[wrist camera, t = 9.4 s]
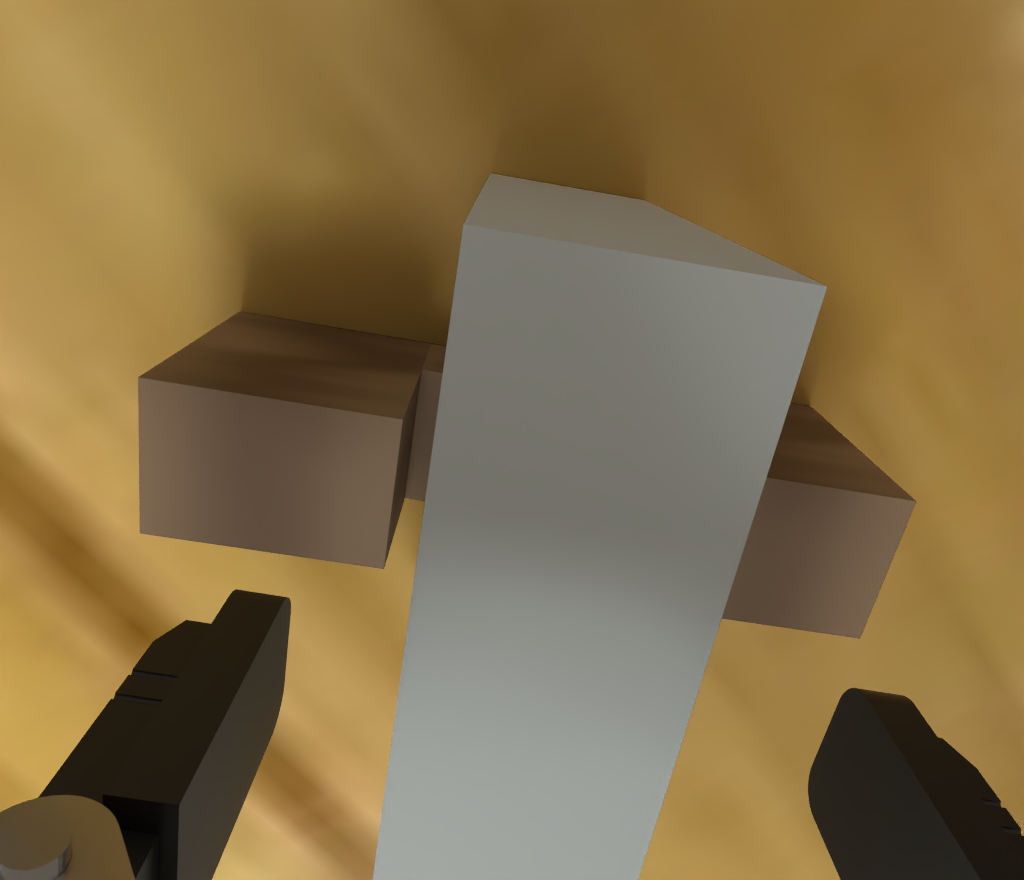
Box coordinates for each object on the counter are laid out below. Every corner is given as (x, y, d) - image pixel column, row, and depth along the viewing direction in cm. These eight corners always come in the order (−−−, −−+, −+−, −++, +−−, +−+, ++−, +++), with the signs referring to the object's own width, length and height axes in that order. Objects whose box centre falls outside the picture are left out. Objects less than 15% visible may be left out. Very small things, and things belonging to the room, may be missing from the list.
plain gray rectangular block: (645, 200, 19) (827, 286, 8) (551, 622, 24) (587, 1037, 13) (490, 173, 19) (462, 223, 8) (426, 605, 24) (354, 1014, 13)
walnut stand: (810, 406, 21) (916, 501, 16) (774, 515, 23) (860, 638, 17) (239, 311, 20) (138, 377, 15) (235, 431, 22) (139, 533, 16)
